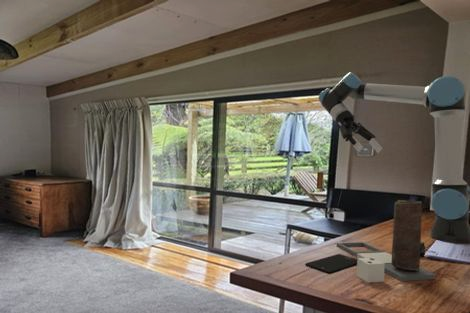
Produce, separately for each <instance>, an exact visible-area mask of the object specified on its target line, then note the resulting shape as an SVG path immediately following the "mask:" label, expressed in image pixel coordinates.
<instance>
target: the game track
mask: <svg viewBox="0 0 470 313" xmlns="http://www.w3.org/2000/svg"><path fill="white" fill-rule="evenodd" d="M337 246H338V247H337ZM336 247H337V248H339V247H340V248H339V249H342V250H344V251H345V252H347V253H349V254H350V255H353V256H354V257H356V258H375V259H377V260H379V261H381V262H383V263H385V268H384V274H385V273H386V274H387V275H389V276H391V277H392V278H394V279H396V280H398V281H401V282H406V281H407V282H409V281H423V280H424V281H425V280H436V274H435V273H432V272H431V271H428V270H426V269H423V268H421V267H420V269H419V271H415V270H403V269H400V268H396V267H394V266H393V265H392V263H391V262H392V253H388V252H385V251H384V250H382V249H379V248H377V247H375V246H373V245H371V244H368V243H367V242H364V241H354V242H353V241H352V242H350V241H349V242H336ZM350 247H364V248H366V249H369V250H370V251H369V250H367V251H363V250H362V251H355V250H354V249H351V248H350Z"/></svg>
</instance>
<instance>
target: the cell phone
mask: <svg viewBox="0 0 470 313" xmlns="http://www.w3.org/2000/svg"><path fill="white" fill-rule="evenodd" d="M304 265H306V266H305V267H308V266H309V267H308V268H310V267H311V269H313V268H314V269H313V270H316V269H317V270H316V271H319V272H322V273H324V274H327V275H330V274H333V273H337V272H339V271H342V270H345V269H348V268H351V267H355V266H357V258H354V257H352V256H351V257H350V256H347V255H345V254H341V253H338V254H333V255H329V256H326V257H323V258H319V259H316V260H312V261H309V262H304Z"/></svg>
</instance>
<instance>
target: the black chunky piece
mask: <svg viewBox="0 0 470 313" xmlns="http://www.w3.org/2000/svg"><path fill="white" fill-rule="evenodd" d="M425 254H426V245H425V242H421V243H420V258H423V257H425V256H424V255H425Z"/></svg>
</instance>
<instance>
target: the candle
mask: <svg viewBox="0 0 470 313" xmlns="http://www.w3.org/2000/svg"><path fill="white" fill-rule="evenodd" d="M393 208H394V209H393V225H392V226H393V228H392V229H393V230H392V243H391V244H392V245H391V255H392V262H391V263H392V265H393V266H394V267H396V268H400V269H403V270H415V271H419V269H420V268H421V267H420V264H421V257H420V243H421V240H422V239H421V238H422V235H421V234H422V214H423V213H422V212H423V201H421V200H419V201H418V200H417V201H416V200H406V199H405V200H403V199H398V200H397V201H395V202H394V207H393Z"/></svg>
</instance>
